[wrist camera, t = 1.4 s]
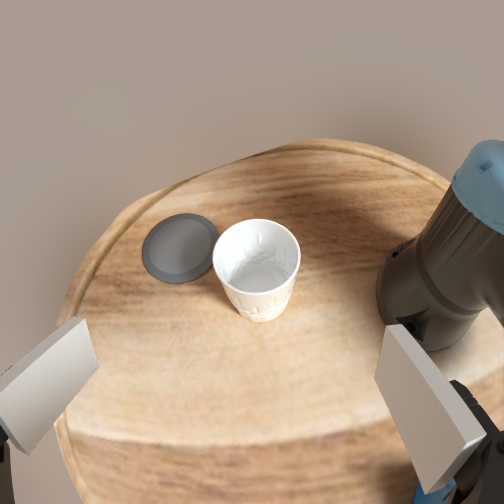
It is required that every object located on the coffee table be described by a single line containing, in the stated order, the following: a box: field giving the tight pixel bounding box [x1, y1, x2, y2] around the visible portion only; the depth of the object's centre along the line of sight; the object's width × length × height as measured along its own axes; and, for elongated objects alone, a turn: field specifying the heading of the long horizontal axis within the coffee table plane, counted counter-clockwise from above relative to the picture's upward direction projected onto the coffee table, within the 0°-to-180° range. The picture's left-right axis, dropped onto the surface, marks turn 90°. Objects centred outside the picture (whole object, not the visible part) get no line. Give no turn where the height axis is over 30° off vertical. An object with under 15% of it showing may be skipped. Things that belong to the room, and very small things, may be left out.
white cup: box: [212, 219, 300, 322], centre depth 30 cm, size 8×8×10 cm
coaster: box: [143, 213, 219, 284], centre depth 38 cm, size 11×11×1 cm
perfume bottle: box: [413, 478, 456, 504], centre depth 13 cm, size 6×6×12 cm
